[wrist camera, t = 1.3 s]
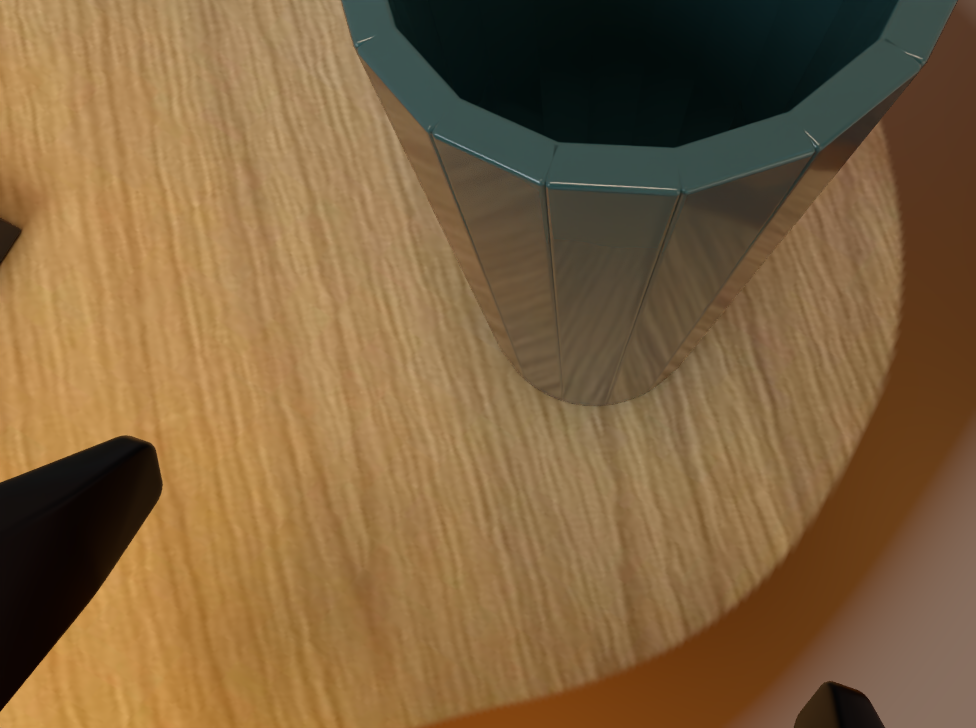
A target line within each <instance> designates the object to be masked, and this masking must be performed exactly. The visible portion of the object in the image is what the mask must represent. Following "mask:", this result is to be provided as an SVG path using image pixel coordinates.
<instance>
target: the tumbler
mask: <svg viewBox="0 0 976 728" xmlns="http://www.w3.org/2000/svg"><path fill="white" fill-rule="evenodd" d="M957 1H958V0H341V3H342V7H343V10H344V14H345V18H346V21H347V25H348V28H349V32H350V36H351V39H352V43H353V46H354V48H355V50H356V53H357V55H358V57H359V59H360V61H361V63H362V65H363V67H364V69H365V71H366V73H367V75H368V77H369V79H370V81H371V83H372V86H373V88H374V90H375V92H376V94H377V96H378V98H379V100H380V102H381V104H382V106H383V108H384V110H385V112H386V114H387V116H388V119H389V121H390V123H391V125H392V127H393V129H394V131H395V133H396V135H397V137H398V139H399V141H400V143H401V145H402V147H403V149H404V152H405V154H406V156H407V158H408V160H409V162H410V164H411V166H412V168H413V170H414V172H415V174H416V176H417V178H418V180H419V182H420V185H421V187H422V189H423V191H424V193H425V195H426V197H427V199H428V201H429V203H430V205H431V207H432V209H433V211H434V213H435V215H436V218H437V220H438V222H439V224H440V226H441V228H442V230H443V232H444V234H445V236H446V238H447V240H448V242H449V244H450V246H451V248H452V251H453V253H454V255H455V257H456V259H457V261H458V263H459V265H460V267H461V269H462V271H463V273H464V275H465V277H466V279H467V281H468V283H469V286H470V288H471V290H472V292H473V294H474V296H475V298H476V300H477V302H478V304H479V306H480V308H481V310H482V312H483V314H484V316H485V319H486V321H487V323H488V325H489V327H490V329H491V331H492V333H493V335H494V337H495V339H496V341H497V343H498V345H499V347H500V349H501V351H502V353H503V354H504V355H505V356H506V357H507V359H508V360H509V362H510V363H511V364H512V366H513V367H514V369H515V370H516V371H517V372H518V373H519V374H520V375H521V376H522V377H523V378H524V379H525V380H526V381H527V382H529V383H530V384H531V385H532V386H534V387H535V388H537V389H538V390H540V391H542V392H543V393H545V394H547V395H549V396H551V397H554V398H556V399H558V400H562V401H565V402H568V403H572V404H578V405H585V406H603V405H612V404H617V403H621V402H625V401H628V400H631V399H633V398H636V397H639V396H640V395H642V394H645V393H646V392H649V391H650V390H651V389H653V388H654V387H656V386H657V385H658V384H660V383H661V382H662V381H663V380H664V379H666V378H667V377H668V376H669V375H670V374H671V373H672V372H673V371H675V370H676V369H677V368H678V367H679V366H680V365H681V364H682V362H683V361H684V360H685V359H686V358H687V356H688V355H689V354H690V353H691V351H692V350H693V349H694V348H695V346H696V345H697V344H698V343H699V342H700V340H701V339H702V338H703V337H704V335H705V334H706V333H707V332H708V331H709V329H710V328H711V327H712V326H713V324H714V323H715V322H716V321H717V319H718V318H719V317H720V316H721V315H722V313H723V312H724V311H725V310H726V308H727V307H728V306H729V305H730V304H731V302H732V301H733V300H734V299H735V297H736V296H737V295H738V294H739V292H740V291H741V290H742V289H743V288H744V286H745V285H746V284H747V283H748V281H749V280H750V279H751V278H752V276H753V275H754V274H755V273H756V272H757V270H758V269H759V268H760V267H761V265H762V264H763V263H764V262H765V261H766V259H767V258H768V257H769V256H770V254H771V253H772V252H773V251H774V249H775V248H776V247H777V246H778V245H779V243H780V242H781V241H782V240H783V238H784V237H785V236H786V235H787V234H788V232H789V231H790V230H791V229H792V227H793V226H794V225H795V224H796V222H797V221H798V220H799V219H800V218H801V216H802V215H803V214H804V213H805V211H806V210H807V209H808V208H809V207H810V205H811V204H812V203H813V202H814V200H815V199H816V198H817V197H818V195H819V194H820V193H821V192H822V191H823V189H824V188H825V187H826V186H827V184H828V183H829V182H830V181H831V180H832V178H833V177H834V176H835V175H836V173H837V172H838V171H839V170H840V168H841V167H842V166H843V165H844V164H845V162H846V161H847V160H848V159H849V157H850V156H851V155H852V154H853V152H854V151H855V150H856V149H857V148H858V146H859V145H860V144H861V143H862V141H863V140H864V139H865V138H866V137H867V135H868V134H869V133H870V132H871V130H872V129H873V128H874V127H875V125H876V124H877V123H878V122H879V121H880V119H881V118H882V117H883V116H884V114H885V113H886V112H887V111H888V110H889V108H890V107H891V106H892V105H893V103H894V102H895V101H896V100H897V98H898V97H899V96H900V95H901V94H902V92H903V91H904V90H905V88H906V87H907V86H908V85H909V84H910V83H911V81H912V80H913V79H914V77H915V76H916V75H917V74H918V73H919V71H920V70H921V69H922V68H923V66H924V65H925V64H926V63H927V61H928V59H929V57H930V55H931V53H932V51H933V49H934V47H935V45H936V43H937V41H938V39H939V37H940V35H941V33H942V31H943V29H944V27H945V25H946V23H947V21H948V19H949V17H950V15H951V13H952V11H953V9H954V7H955V5H956V3H957Z"/></svg>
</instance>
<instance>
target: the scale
mask: <svg viewBox="0 0 976 728" xmlns="http://www.w3.org/2000/svg"><path fill="white" fill-rule="evenodd" d="M20 232H21V230H20V229H19V228H18V227H16V226H14V225H12V224H11V223H9V222H7V221H5V220H4V219H2V218H0V262H1V261H2V259H3V258H4V256H5V254H6V253H7V251H8V250H9V248H10V247H11V245H12V244H13V242H14V241H15V239H16V238H17V236H18V235H19V233H20Z"/></svg>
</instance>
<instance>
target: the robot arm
mask: <svg viewBox="0 0 976 728" xmlns="http://www.w3.org/2000/svg"><path fill="white" fill-rule="evenodd" d="M162 485H163V484H162V478H161V473H160V468H159V463H158V458H157V453H156V450H155V447H154V446H153V445H152V444H151V443H149V442H147V441H144V440H141V439H138V438H135V437H132V436H119V437H116V438H114V439H111V440H108V441H106V442H103V443H101V444H98V445H96V446H93V447H91V448H88V449H85V450H83V451H80V452H78V453H75V454H73V455H70V456H67V457H65V458H62V459H60V460H57V461H55V462H52V463H50V464H47V465H44V466H42V467H39V468H37V469H34V470H32V471H29V472H27V473H24V474H21V475H19V476H16V477H14V478H11V479H9V480H6V481H4V482H1V483H0V711H1V710H2V709H3V708H4V706H5V705H6V704H7V703H8V702H9V700H10V699H11V698H12V697H13V695H14V694H15V693H16V692H17V691H18V689H19V688H20V687H21V686H22V684H23V683H24V682H25V681H26V679H27V678H28V677H29V676H30V675H31V673H32V672H33V671H34V670H35V668H36V667H37V666H38V665H39V663H40V662H41V661H42V660H43V659H44V657H45V656H46V655H47V654H48V652H49V651H50V650H51V649H52V648H53V646H54V645H55V644H56V643H57V641H58V640H59V639H60V638H61V636H62V635H63V634H64V633H65V632H66V630H67V629H68V628H69V627H70V625H71V624H72V623H73V622H74V621H75V619H76V618H77V617H78V616H79V614H80V613H81V612H82V611H83V609H84V608H85V607H86V606H87V604H88V603H89V602H90V600H91V599H92V598H93V597H94V595H95V594H96V593H97V591H98V590H99V588H100V587H101V586H102V584H103V583H104V581H105V580H106V578H107V577H108V575H109V574H110V572H111V571H112V569H113V568H114V566H115V565H116V563H117V562H118V560H119V559H120V557H121V556H122V554H123V553H124V551H125V550H126V548H127V547H128V545H129V544H130V542H131V541H132V539H133V538H134V536H135V535H136V533H137V532H138V530H139V529H140V527H141V526H142V524H143V523H144V521H145V520H146V518H147V517H148V515H149V514H150V512H151V511H152V509H153V508H154V506H155V504H156V503H157V501H158V499H159V497H160V495H161V492H162ZM794 728H885V727H884V725H883V723H882V722H881V720H880V718H879V716H878V714H877V713H876V711H875V709H874V707H873V706H872V704H871V702H870V701H869V699H868V698H867V697H866V696H865V695H864V694H863V693H862V692H860V691H858V690H856V689H853V688H850V687H847V686H844V685H842V684H839V683H836V682H833V681H828V682H825V683H823V684H822V685H821V686H820V688H819V689H818V690H817V691H816V693H815V694H814V695H813V696H812V698H811V699H810V700H809V701H808V703H807V704H806V705H805V706H804V708H803V709H802V710H801V711H800V713H799V714H798V717H797V719H796V722H795V725H794Z"/></svg>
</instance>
